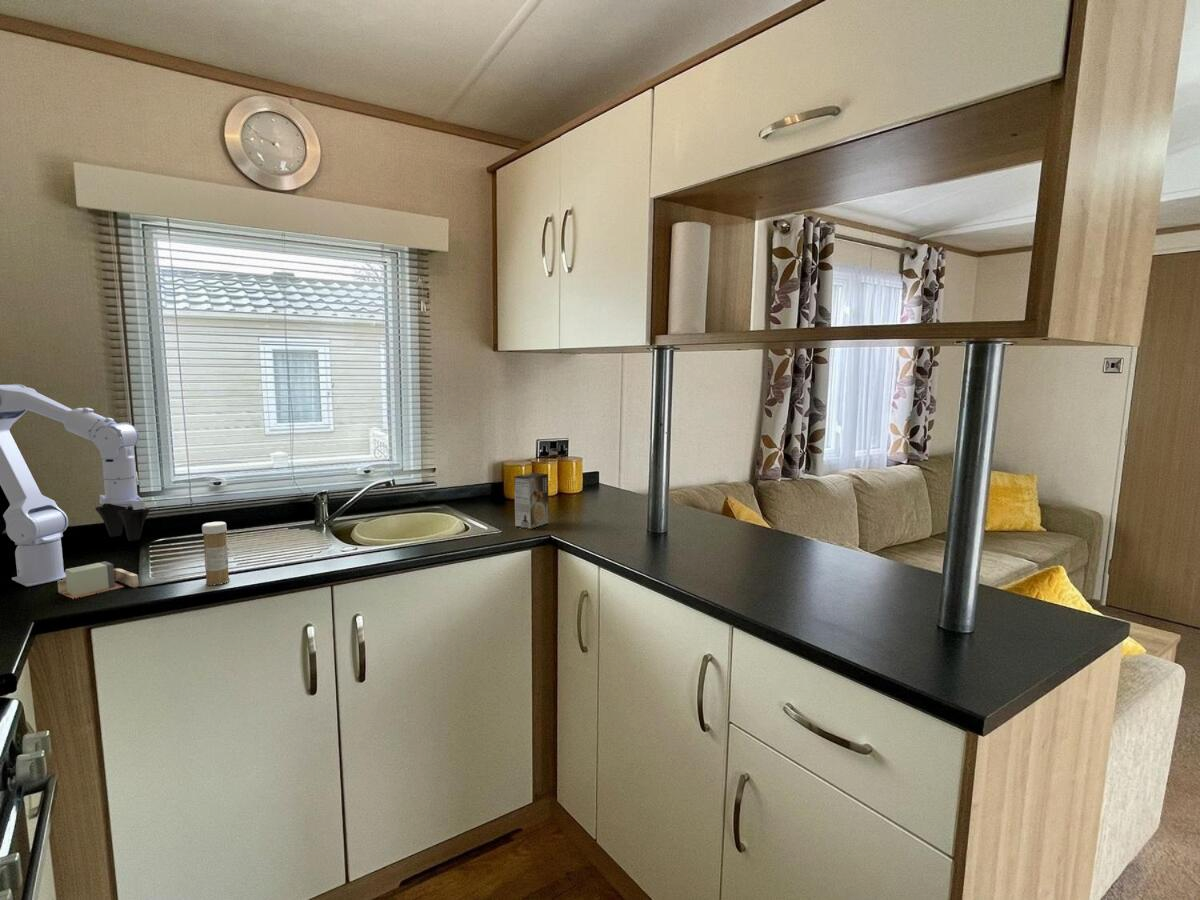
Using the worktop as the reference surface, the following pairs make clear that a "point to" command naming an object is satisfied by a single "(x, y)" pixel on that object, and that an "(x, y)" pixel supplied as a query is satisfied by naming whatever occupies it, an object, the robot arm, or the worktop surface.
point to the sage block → (90, 578)
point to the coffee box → (531, 500)
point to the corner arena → (119, 576)
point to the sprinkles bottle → (215, 552)
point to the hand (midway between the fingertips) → (124, 538)
